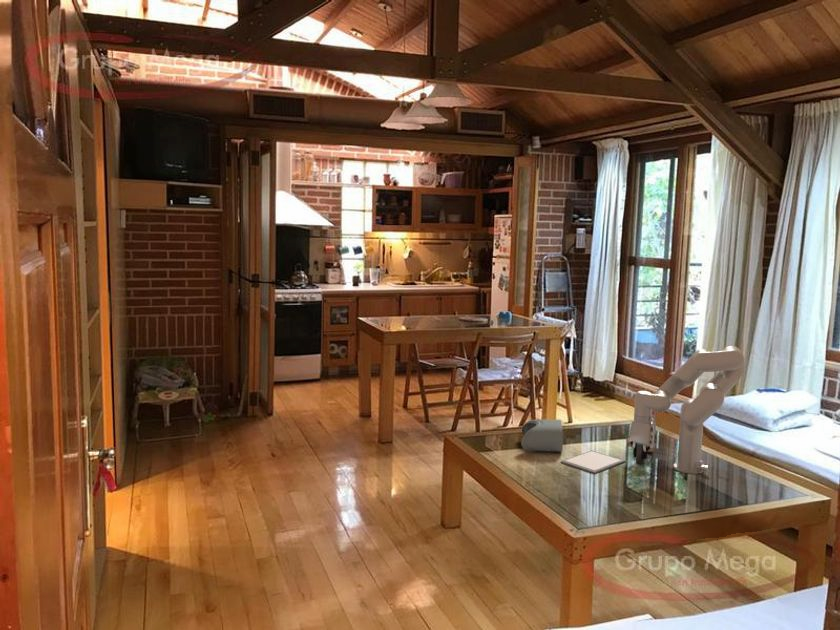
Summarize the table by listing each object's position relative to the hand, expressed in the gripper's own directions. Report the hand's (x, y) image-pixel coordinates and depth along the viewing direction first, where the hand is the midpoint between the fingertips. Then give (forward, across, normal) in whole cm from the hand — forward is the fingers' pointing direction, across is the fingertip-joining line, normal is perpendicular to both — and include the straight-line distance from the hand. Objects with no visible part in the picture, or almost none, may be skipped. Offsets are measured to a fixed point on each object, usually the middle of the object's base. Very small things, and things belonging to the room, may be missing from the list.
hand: (640, 457), depth 313 cm
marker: (+3, 0, 0) cm, 3 cm away
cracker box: (+3, +11, -22) cm, 25 cm away
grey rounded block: (+3, +42, +18) cm, 46 cm away
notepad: (+3, +14, +16) cm, 21 cm away
